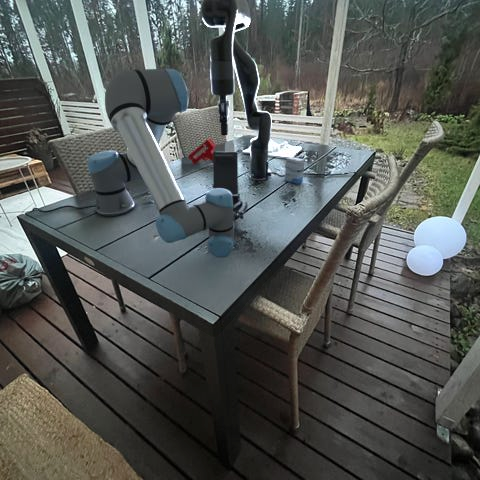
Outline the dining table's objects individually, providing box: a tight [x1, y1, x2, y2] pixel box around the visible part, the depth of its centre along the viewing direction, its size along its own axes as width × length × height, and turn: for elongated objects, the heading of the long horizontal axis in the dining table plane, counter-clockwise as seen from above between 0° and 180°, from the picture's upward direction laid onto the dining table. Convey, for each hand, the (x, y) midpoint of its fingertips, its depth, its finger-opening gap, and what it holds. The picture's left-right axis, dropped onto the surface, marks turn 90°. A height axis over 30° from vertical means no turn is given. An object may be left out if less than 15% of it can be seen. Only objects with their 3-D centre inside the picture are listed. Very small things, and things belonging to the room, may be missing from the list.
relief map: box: [242, 138, 304, 160], centre depth 192 cm, size 27×35×5 cm
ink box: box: [284, 156, 306, 185], centre depth 140 cm, size 8×5×12 cm, turn 47°
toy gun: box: [188, 138, 217, 164], centre depth 168 cm, size 18×4×15 cm
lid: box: [212, 151, 239, 195], centre depth 101 cm, size 16×9×8 cm
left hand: (226, 196), depth 110 cm, fingers closed on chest, 9 cm apart
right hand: (224, 133), depth 96 cm, fingers open, 5 cm apart
